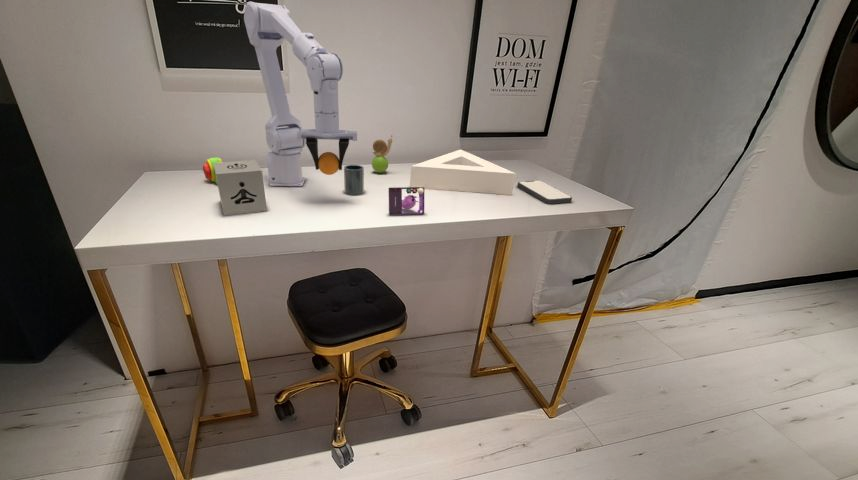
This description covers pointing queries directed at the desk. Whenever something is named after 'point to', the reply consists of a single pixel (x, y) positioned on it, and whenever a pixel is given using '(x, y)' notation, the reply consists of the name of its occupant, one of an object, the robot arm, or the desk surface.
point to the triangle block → (462, 174)
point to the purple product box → (405, 200)
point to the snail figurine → (381, 155)
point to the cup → (354, 179)
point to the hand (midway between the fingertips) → (328, 168)
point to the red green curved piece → (211, 169)
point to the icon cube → (240, 187)
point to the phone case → (544, 192)
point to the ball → (328, 163)
